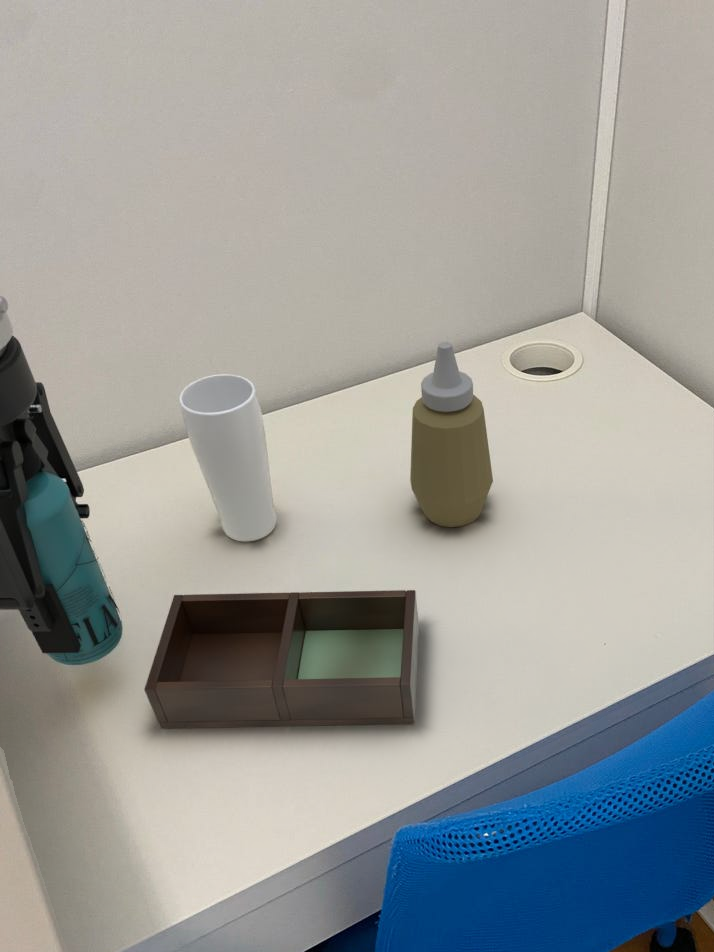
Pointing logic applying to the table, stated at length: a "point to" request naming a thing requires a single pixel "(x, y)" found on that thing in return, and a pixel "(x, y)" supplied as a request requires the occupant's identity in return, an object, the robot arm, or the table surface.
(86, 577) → the beverage bottle
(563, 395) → the table surface
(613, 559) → the table surface
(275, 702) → the divided box
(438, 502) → the squeeze bottle
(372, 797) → the table surface
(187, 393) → the drinking glass
